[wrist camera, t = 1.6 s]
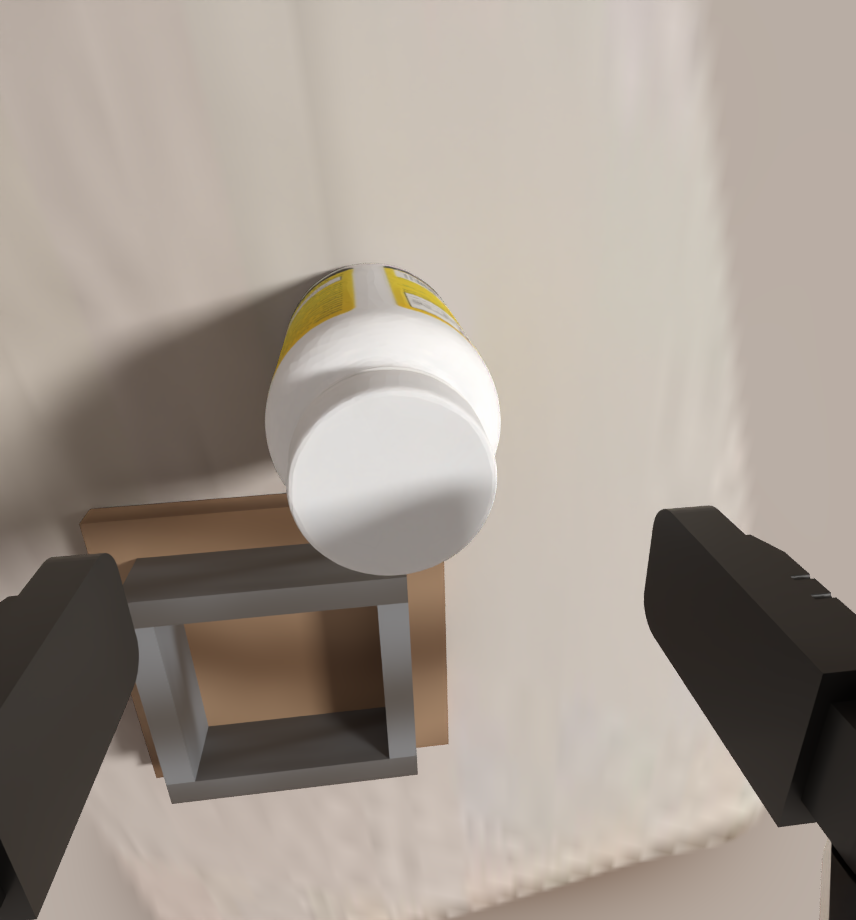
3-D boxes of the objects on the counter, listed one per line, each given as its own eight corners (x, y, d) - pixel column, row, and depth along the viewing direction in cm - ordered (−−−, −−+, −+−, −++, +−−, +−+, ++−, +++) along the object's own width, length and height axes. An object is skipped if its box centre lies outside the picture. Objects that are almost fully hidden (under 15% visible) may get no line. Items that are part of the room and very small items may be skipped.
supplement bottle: (293, 428, 22) (256, 613, 13) (281, 260, 19) (225, 345, 10) (453, 424, 22) (523, 599, 13) (459, 260, 20) (548, 342, 11)
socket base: (90, 509, 22) (47, 567, 19) (438, 481, 23) (453, 532, 20) (162, 757, 27) (138, 836, 24) (445, 725, 28) (457, 796, 25)
